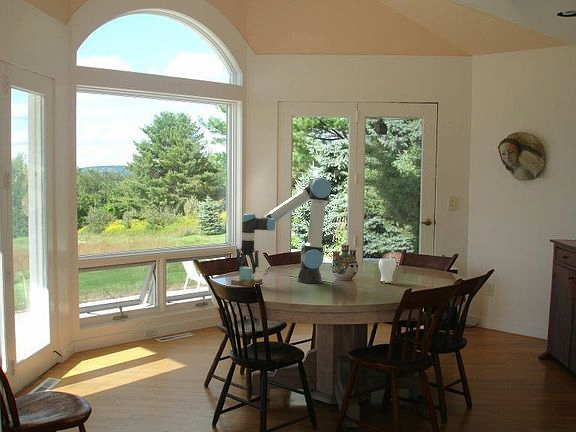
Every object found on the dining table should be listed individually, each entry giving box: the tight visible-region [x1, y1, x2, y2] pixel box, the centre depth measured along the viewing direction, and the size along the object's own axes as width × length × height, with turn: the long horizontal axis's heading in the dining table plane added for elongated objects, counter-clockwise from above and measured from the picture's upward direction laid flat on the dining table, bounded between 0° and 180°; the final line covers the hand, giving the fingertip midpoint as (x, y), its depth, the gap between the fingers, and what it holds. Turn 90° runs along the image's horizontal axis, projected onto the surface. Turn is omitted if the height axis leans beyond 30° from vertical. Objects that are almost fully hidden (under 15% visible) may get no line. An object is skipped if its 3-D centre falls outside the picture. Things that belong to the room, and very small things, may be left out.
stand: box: [230, 277, 263, 287], centre depth 371 cm, size 14×14×8 cm
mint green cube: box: [238, 266, 253, 281], centre depth 371 cm, size 7×7×7 cm
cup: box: [378, 257, 397, 282], centre depth 391 cm, size 11×11×15 cm
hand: (246, 278), depth 371 cm, fingers closed on mint green cube, 7 cm apart
